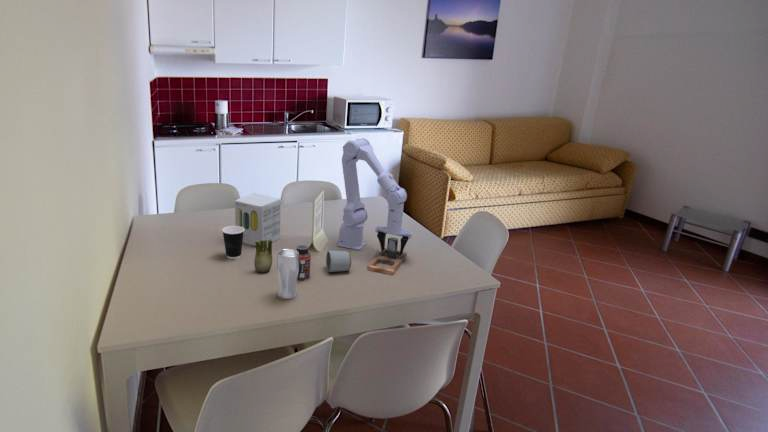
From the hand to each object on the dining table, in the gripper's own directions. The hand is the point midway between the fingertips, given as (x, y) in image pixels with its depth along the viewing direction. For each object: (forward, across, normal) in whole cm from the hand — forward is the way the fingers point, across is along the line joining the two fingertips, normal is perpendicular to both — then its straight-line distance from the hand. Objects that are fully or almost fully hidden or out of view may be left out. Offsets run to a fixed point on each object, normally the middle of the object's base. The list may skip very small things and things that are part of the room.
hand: (392, 251), depth 195 cm
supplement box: (+3, +55, +8) cm, 56 cm away
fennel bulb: (+3, +38, +33) cm, 50 cm away
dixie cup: (+3, +54, +27) cm, 60 cm away
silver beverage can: (+3, +22, +45) cm, 50 cm away
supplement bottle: (+3, +24, +31) cm, 39 cm away
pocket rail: (+3, 0, +5) cm, 6 cm away
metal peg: (+3, 0, 0) cm, 3 cm away
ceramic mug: (+3, +16, +19) cm, 25 cm away
